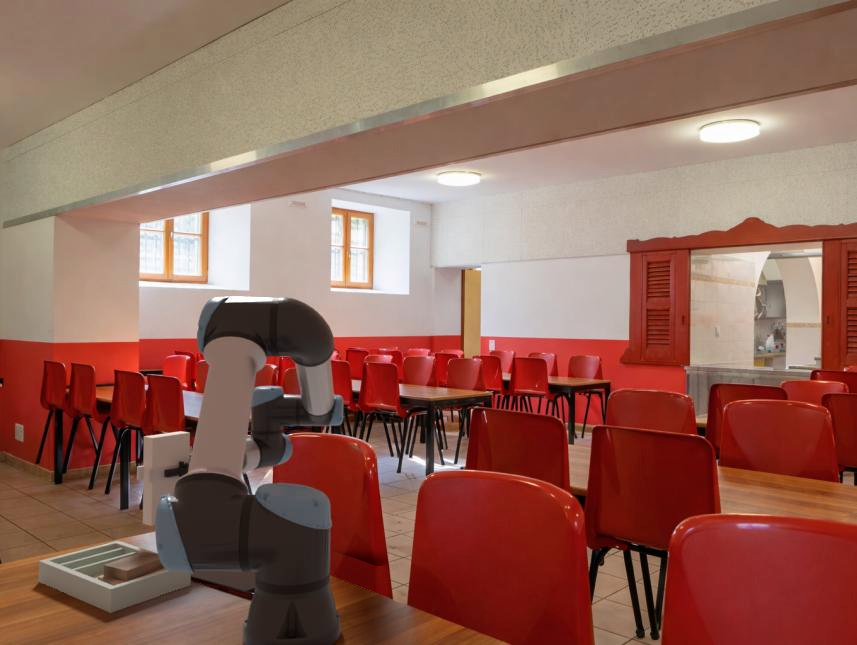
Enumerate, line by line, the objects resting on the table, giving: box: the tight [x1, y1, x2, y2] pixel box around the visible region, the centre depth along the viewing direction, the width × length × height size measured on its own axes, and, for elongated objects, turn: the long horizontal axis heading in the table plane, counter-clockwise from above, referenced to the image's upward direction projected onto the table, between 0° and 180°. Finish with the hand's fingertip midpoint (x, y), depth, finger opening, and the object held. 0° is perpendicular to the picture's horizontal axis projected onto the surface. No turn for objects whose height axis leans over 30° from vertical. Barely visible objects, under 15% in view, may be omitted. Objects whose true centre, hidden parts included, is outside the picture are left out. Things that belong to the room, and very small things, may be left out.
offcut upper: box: [104, 551, 164, 582], centre depth 131 cm, size 6×9×2 cm, turn 153°
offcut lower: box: [98, 568, 165, 586], centre depth 131 cm, size 7×10×2 cm
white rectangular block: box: [142, 430, 191, 527], centre depth 151 cm, size 3×9×18 cm, turn 145°
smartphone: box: [191, 571, 255, 600], centre depth 139 cm, size 12×2×25 cm
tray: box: [38, 540, 192, 614], centre depth 134 cm, size 24×16×4 cm, turn 55°
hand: (143, 474), depth 146 cm, fingers closed on white rectangular block, 3 cm apart
